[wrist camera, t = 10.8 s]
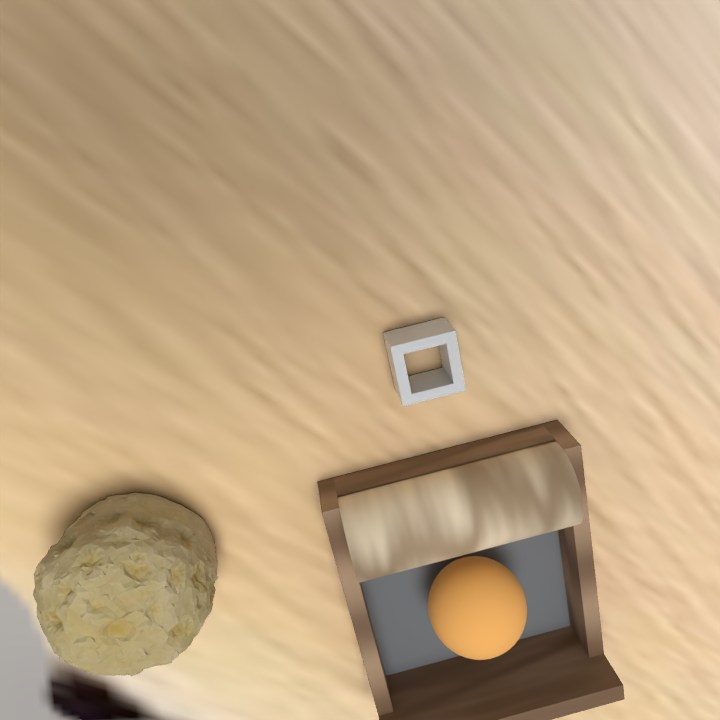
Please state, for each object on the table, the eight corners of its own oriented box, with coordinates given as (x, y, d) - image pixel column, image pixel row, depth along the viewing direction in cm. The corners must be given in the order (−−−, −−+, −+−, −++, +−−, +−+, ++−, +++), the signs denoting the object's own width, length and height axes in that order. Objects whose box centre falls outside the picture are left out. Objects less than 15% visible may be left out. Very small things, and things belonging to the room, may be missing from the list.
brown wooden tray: (317, 481, 42) (325, 539, 36) (557, 419, 43) (601, 467, 37) (374, 688, 48) (389, 764, 42) (583, 631, 49) (624, 699, 43)
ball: (447, 674, 38) (440, 669, 44) (550, 645, 39) (531, 644, 44) (417, 565, 41) (415, 573, 46) (515, 539, 41) (501, 551, 46)
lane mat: (317, 481, 42) (318, 485, 41) (557, 419, 43) (560, 422, 42) (374, 688, 48) (375, 693, 48) (583, 631, 49) (586, 635, 48)
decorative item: (225, 499, 46) (213, 480, 36) (220, 660, 43) (206, 685, 33) (76, 501, 45) (23, 483, 35) (60, 667, 42) (-1, 694, 32)
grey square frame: (382, 332, 39) (390, 346, 37) (444, 317, 39) (455, 330, 37) (395, 389, 40) (402, 406, 38) (454, 374, 41) (465, 390, 38)
